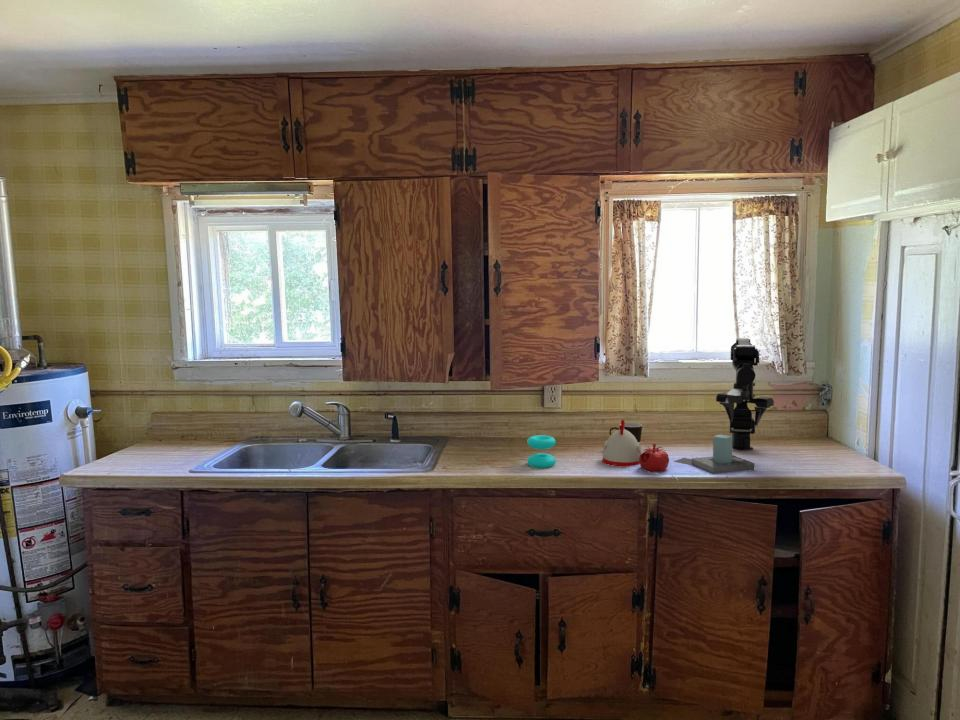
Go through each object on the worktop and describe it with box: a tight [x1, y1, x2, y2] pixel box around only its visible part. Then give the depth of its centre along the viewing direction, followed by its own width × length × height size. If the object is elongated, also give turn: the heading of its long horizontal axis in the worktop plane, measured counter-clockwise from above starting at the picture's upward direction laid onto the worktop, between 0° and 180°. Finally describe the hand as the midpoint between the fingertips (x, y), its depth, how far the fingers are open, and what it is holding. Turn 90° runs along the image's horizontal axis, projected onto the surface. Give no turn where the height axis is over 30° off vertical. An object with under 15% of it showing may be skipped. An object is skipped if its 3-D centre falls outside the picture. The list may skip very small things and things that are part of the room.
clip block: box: [712, 434, 733, 464], centre depth 212 cm, size 4×4×11 cm
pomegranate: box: [639, 443, 670, 473], centre depth 212 cm, size 10×10×9 cm
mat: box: [673, 457, 693, 466], centre depth 221 cm, size 7×7×1 cm
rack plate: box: [691, 454, 755, 475], centre depth 213 cm, size 12×16×3 cm
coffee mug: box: [609, 422, 643, 443], centre depth 240 cm, size 12×9×10 cm
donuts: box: [526, 434, 557, 469], centre depth 220 cm, size 10×10×10 cm
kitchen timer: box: [602, 419, 643, 467], centre depth 223 cm, size 14×14×15 cm
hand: (743, 423), depth 222 cm, fingers open, 9 cm apart
